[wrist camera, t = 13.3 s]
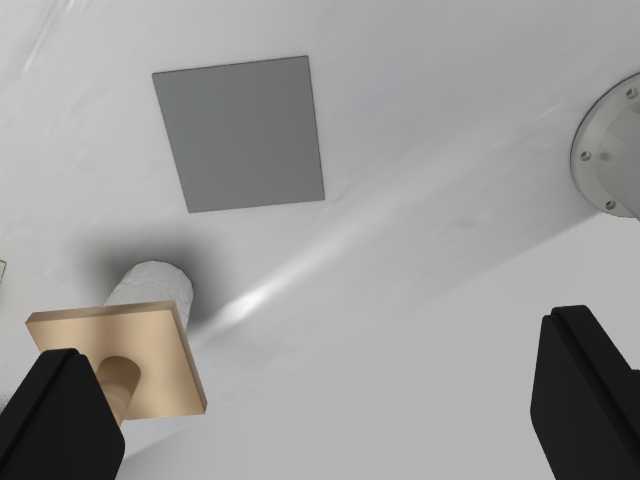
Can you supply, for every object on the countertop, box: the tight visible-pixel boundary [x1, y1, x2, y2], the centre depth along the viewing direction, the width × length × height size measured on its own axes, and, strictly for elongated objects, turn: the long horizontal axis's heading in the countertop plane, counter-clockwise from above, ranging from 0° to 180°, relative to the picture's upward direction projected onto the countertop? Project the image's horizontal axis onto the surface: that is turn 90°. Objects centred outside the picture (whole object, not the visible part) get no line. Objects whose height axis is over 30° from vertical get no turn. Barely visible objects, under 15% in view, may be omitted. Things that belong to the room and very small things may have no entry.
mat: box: [152, 56, 324, 213], centre depth 43 cm, size 12×12×1 cm
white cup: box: [103, 260, 194, 332], centre depth 46 cm, size 8×8×10 cm
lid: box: [25, 300, 207, 428], centre depth 39 cm, size 11×11×6 cm
